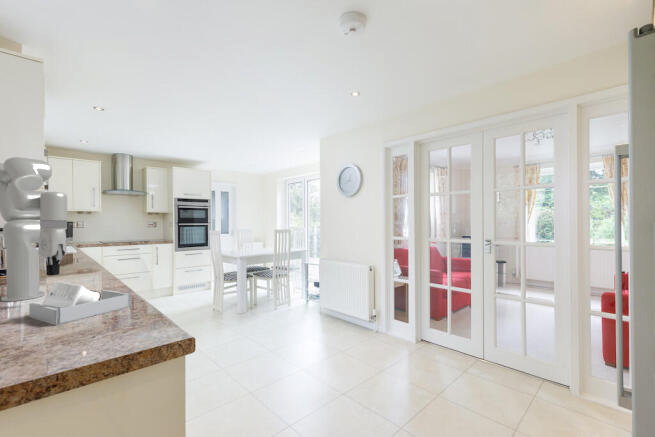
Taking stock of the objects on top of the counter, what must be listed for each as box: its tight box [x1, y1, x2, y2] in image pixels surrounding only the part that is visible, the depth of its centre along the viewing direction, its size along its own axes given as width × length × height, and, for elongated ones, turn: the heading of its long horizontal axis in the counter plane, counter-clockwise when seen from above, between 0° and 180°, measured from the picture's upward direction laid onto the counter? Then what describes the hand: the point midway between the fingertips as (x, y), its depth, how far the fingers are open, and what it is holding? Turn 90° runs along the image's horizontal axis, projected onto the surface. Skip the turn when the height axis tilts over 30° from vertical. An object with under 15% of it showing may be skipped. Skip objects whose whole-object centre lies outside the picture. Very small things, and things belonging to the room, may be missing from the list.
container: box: [42, 280, 101, 309], centre depth 102 cm, size 8×8×13 cm
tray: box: [28, 289, 132, 326], centre depth 105 cm, size 17×22×4 cm
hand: (53, 274), depth 114 cm, fingers closed
